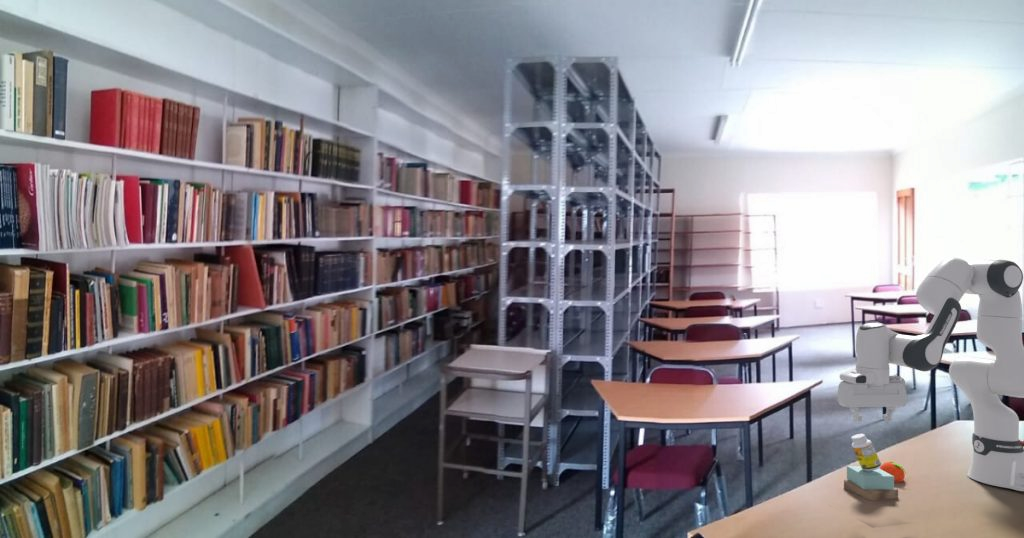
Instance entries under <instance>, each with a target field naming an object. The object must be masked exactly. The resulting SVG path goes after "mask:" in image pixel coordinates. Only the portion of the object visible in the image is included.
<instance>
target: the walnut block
mask: <svg viewBox="0 0 1024 538" xmlns="http://www.w3.org/2000/svg"><path fill="white" fill-rule="evenodd" d="M843 489H845V490H847V491H849V492H851V493H854V494H856V495H858V496H860V497H862V498H864V499H867V500H868V501H881V500H892V499H898V498H899V489H898V488H895V487H894V490H879V489H863V488H861V487H860V486H858V485H856V484H855V483H853V482H852V481H850V480H848V479H843Z"/></svg>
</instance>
